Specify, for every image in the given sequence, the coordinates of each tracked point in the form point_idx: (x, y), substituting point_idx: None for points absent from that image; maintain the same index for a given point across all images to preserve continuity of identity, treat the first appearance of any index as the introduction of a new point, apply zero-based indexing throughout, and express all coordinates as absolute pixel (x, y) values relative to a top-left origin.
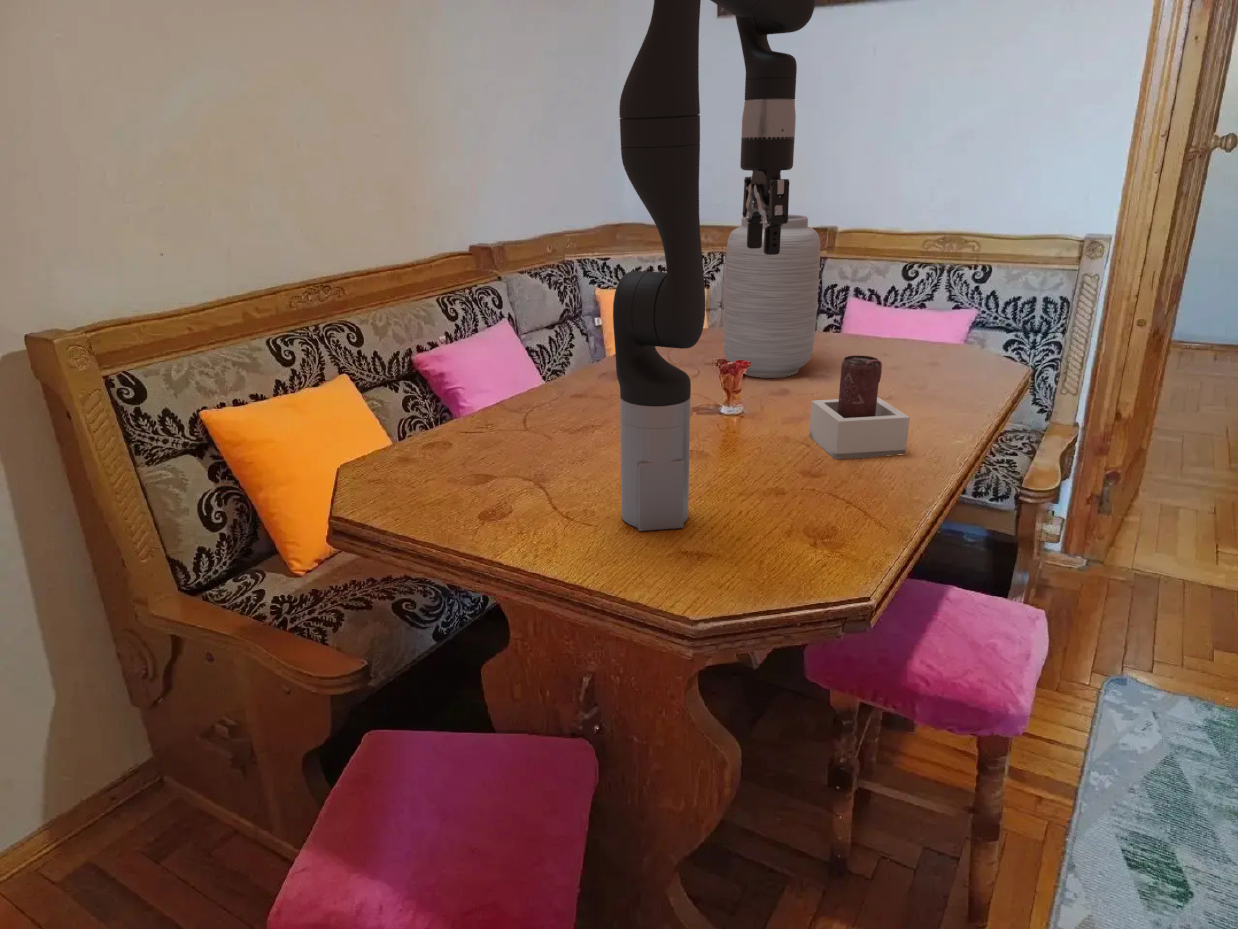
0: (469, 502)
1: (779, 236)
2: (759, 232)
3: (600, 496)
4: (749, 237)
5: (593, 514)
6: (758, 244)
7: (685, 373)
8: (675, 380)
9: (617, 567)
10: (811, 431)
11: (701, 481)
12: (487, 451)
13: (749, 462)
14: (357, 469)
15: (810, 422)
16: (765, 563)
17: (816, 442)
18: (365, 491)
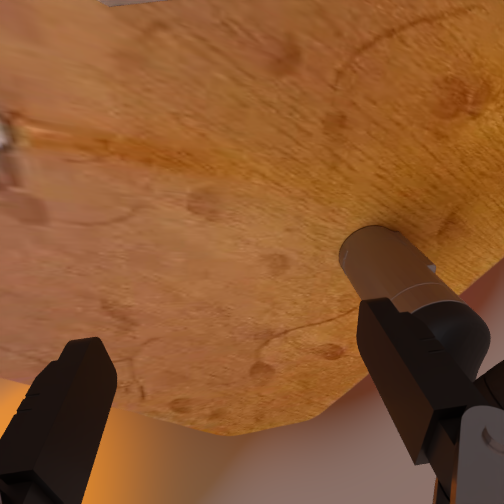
0: (307, 368)
1: (430, 361)
2: (70, 416)
3: (313, 292)
4: (104, 424)
5: (349, 295)
6: (97, 358)
7: (461, 325)
8: (487, 336)
9: (443, 277)
10: (114, 3)
11: (291, 205)
12: (195, 375)
13: (234, 140)
14: (234, 431)
15: (102, 2)
16: (486, 170)
17: (144, 2)
18: (276, 418)
